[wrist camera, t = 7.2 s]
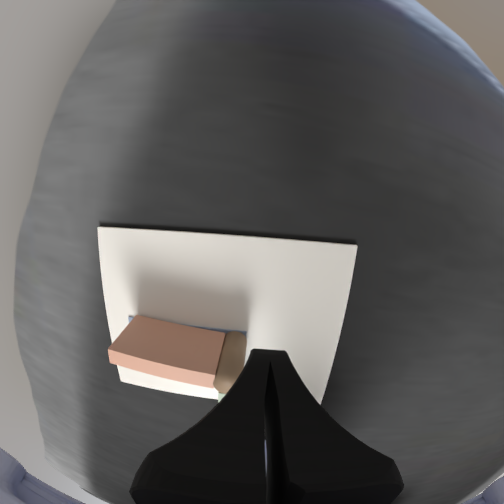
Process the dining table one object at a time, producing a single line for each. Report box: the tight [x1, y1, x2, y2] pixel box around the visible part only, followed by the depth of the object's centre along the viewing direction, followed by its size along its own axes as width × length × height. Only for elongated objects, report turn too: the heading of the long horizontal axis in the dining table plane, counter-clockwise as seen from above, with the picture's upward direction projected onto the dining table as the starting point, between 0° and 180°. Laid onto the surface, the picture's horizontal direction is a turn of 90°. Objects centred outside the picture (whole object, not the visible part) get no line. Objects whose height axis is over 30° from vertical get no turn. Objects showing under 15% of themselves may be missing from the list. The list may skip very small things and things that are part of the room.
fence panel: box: [108, 315, 247, 394], centre depth 19 cm, size 9×2×5 cm, turn 82°
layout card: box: [98, 226, 357, 405], centre depth 21 cm, size 15×19×1 cm
